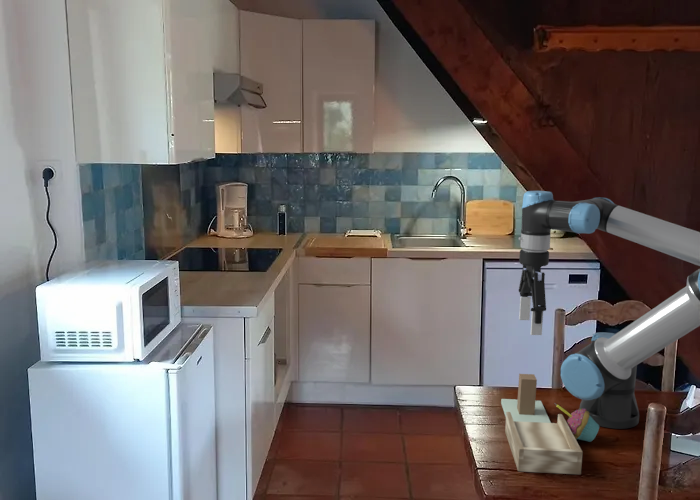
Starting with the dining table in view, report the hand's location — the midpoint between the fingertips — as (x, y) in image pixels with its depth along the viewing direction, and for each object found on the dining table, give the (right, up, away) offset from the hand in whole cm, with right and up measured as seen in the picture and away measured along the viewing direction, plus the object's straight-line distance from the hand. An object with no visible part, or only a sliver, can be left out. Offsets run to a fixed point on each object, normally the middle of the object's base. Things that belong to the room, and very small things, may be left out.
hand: (529, 327), depth 179 cm
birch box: (-2, -28, -18) cm, 34 cm away
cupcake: (+13, -25, -14) cm, 31 cm away
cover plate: (-1, -25, +2) cm, 25 cm away
